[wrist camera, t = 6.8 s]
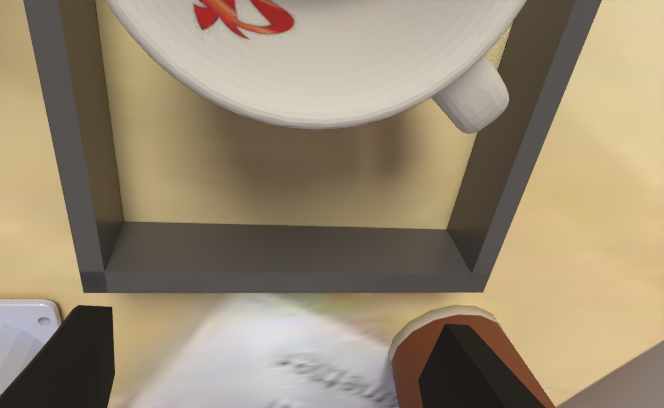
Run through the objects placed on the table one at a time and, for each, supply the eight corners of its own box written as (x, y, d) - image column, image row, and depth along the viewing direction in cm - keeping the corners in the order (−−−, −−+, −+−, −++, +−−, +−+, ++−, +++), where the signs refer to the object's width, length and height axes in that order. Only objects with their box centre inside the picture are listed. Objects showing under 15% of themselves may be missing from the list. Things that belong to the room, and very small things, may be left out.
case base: (457, 247, 22) (482, 292, 20) (105, 240, 19) (83, 292, 17) (632, -261, 13) (722, -296, 10) (0, -416, 10) (-83, -515, 8)
